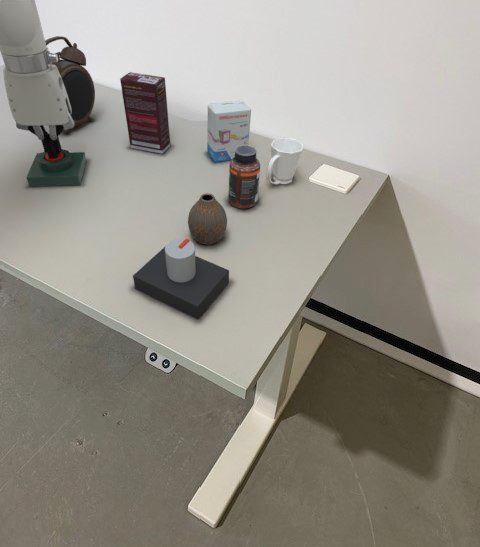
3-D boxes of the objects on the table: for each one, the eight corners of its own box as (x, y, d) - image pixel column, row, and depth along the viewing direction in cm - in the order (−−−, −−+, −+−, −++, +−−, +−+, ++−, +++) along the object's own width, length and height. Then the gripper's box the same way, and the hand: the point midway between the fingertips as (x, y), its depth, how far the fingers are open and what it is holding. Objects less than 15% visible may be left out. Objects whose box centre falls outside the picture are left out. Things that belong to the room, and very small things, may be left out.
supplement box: (171, 145, 101) (166, 76, 90) (162, 154, 97) (156, 84, 86) (138, 139, 102) (129, 70, 91) (129, 148, 99) (118, 78, 88)
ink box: (214, 163, 96) (214, 112, 87) (207, 153, 99) (206, 103, 91) (248, 157, 98) (251, 108, 90) (240, 148, 102) (243, 99, 93)
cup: (304, 178, 93) (310, 144, 87) (280, 197, 87) (284, 162, 81) (278, 167, 96) (282, 133, 90) (252, 185, 90) (255, 150, 84)
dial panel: (135, 289, 66) (132, 275, 64) (169, 257, 72) (167, 243, 70) (198, 319, 63) (197, 306, 60) (228, 283, 68) (229, 270, 66)
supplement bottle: (263, 203, 85) (268, 152, 77) (241, 213, 82) (245, 161, 74) (243, 190, 88) (247, 139, 80) (222, 199, 85) (223, 148, 77)
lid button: (45, 167, 86) (43, 160, 85) (49, 158, 89) (46, 151, 88) (63, 167, 87) (61, 159, 86) (66, 158, 89) (64, 150, 88)
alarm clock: (66, 140, 100) (42, 49, 86) (42, 133, 102) (16, 43, 88) (105, 118, 110) (89, 33, 96) (83, 112, 112) (65, 27, 98)
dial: (185, 286, 63) (184, 260, 60) (161, 276, 65) (158, 250, 61) (201, 269, 66) (200, 243, 62) (177, 259, 67) (175, 233, 64)
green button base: (29, 186, 86) (23, 169, 83) (39, 162, 93) (34, 145, 90) (80, 185, 87) (76, 168, 84) (86, 161, 94) (82, 144, 91)
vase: (191, 252, 73) (190, 211, 67) (186, 228, 78) (184, 187, 72) (230, 247, 75) (231, 206, 69) (222, 224, 80) (223, 184, 73)
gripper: (74, 53, 78) (93, 145, 90) (-12, 53, 76) (20, 147, 89) (67, 68, 72) (89, 163, 85) (-25, 68, 70) (11, 165, 83)
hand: (54, 154), depth 87 cm, fingers closed
